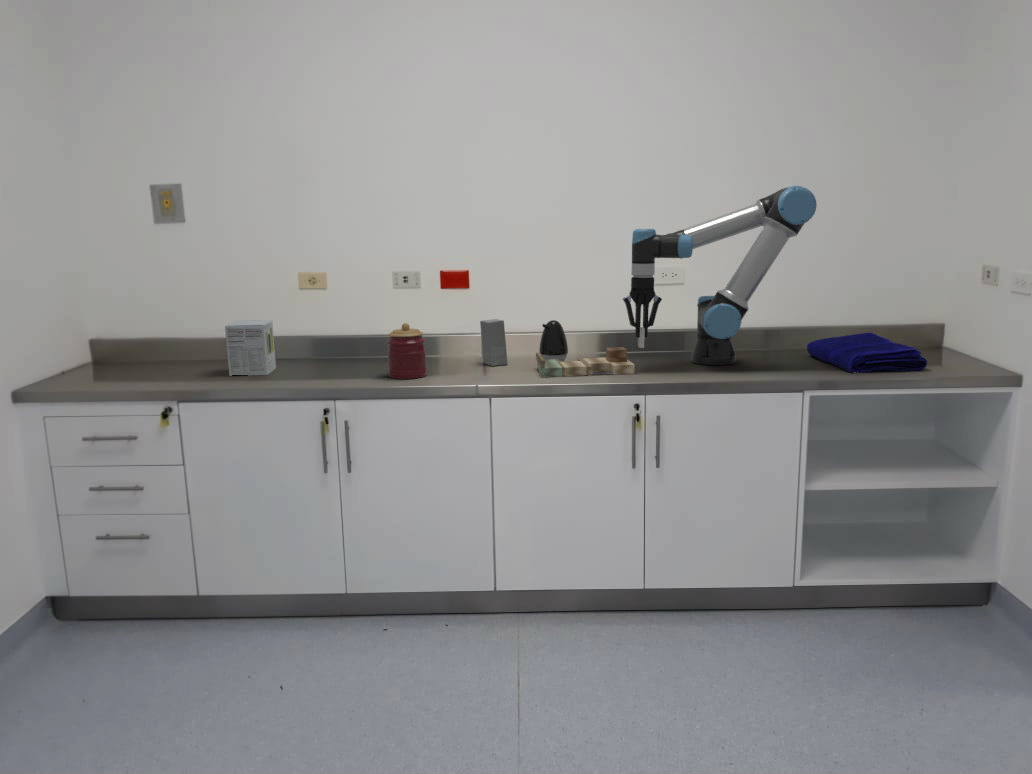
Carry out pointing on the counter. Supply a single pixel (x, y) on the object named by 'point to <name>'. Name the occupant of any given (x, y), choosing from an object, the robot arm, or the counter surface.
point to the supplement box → (250, 347)
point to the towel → (866, 353)
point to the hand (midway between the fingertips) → (641, 347)
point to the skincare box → (493, 342)
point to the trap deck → (582, 367)
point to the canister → (406, 353)
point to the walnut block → (616, 354)
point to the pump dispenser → (553, 342)
